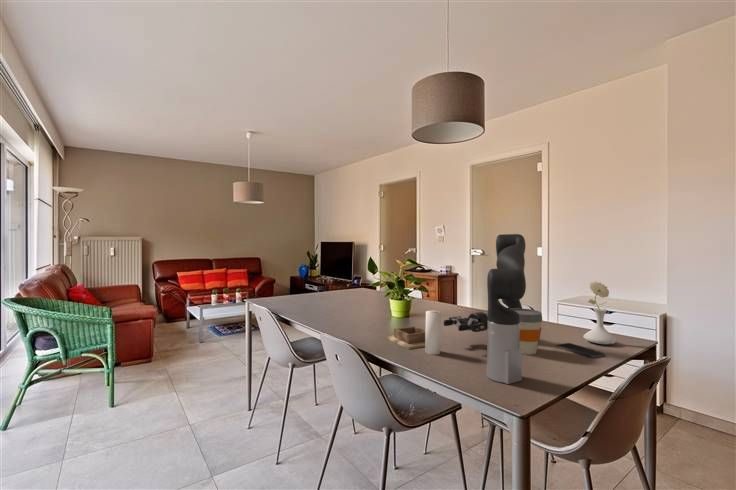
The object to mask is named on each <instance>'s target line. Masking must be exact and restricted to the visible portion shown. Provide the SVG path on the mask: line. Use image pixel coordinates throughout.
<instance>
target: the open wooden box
mask: <svg viewBox="0 0 736 490" xmlns="http://www.w3.org/2000/svg"><path fill="white" fill-rule="evenodd" d="M393 333H394V334H392V335H387V337H386V339H387V340H389V341H391V342H393V343H395V344H397V345H399V346H401V347H403V348H406V349H408V350H412V349H416V348H417V349H418V348H423V347H424V348H425V329H423V328H421V327H418V326H416V325H414V326H407V327H399V328H394V330H393Z"/></svg>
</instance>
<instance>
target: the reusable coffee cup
mask: <svg viewBox="0 0 736 490" xmlns="http://www.w3.org/2000/svg"><path fill="white" fill-rule="evenodd" d="M511 310H513V311H516V312H517V313H519V315H520V336H519V348H520V349H522V355H524V356H525V355H526V356H527V355H529V356H531V355H536V353H537V351H538V343H539V341H540V338H541V333H542V327H541V325H542V322H543V312H541V311H539V310H537V309H531V308H523V307H522V308H513V309H511Z"/></svg>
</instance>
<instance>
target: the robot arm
mask: <svg viewBox="0 0 736 490" xmlns="http://www.w3.org/2000/svg"><path fill="white" fill-rule="evenodd" d="M526 245H527V244H526V240H525V237H524V236H523V235H522V234H519V233H512V234H511V233H509V234H506V233H505V234H504V233H503V234H499V235H497V236H496V239H495V251H496V252H495V253H496V265H495V266H496V268H490V269H489V271H488V273H487V283H486V287H487V311H478V312H472V313H470V314H469V315H468V316H466V317H465V316H464V317H462V316H459V315H458V316H452V317H448V319H444V320H443V327H448V326H456V327H458V331H459V332H463V331H468V332H470V331H471V332H473V333H481V332H486V333H487V334H486V335H487V336H486V341H487V342H486V377H487V378H488V379H490V380H492V381H495V382H497V383H498V382H499V383H504V384H506V385H509V384H513V383H517V382H521V381H522V380H523V378H522V377H523V373H522V372H523V354H522V349H520V348H519V336H520V315H519V313H517V312H516V311H513V310H511V309H513V308H522V309H523V307H522V303H521V300H522V298H523V297H524V296H525V294H526V291H527V290H526V289H527V282H526V275H525V267H526V266H525V264H526V263H525V262H526V261H525V252H526ZM500 300H501V302H500Z"/></svg>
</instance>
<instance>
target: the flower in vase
mask: <svg viewBox="0 0 736 490" xmlns="http://www.w3.org/2000/svg"><path fill="white" fill-rule="evenodd" d="M589 289H590V291H591V292H592V293H593V294H594V299H593V298H590V299H589V300H588V301H587V302H588V303H589V304H592V305H596V307H594V308H593V309H592V310H593V311H594V312H595V315H596V325H595V327H594V328H592V329H591V330H588V331H587V332H586V333H584V334H583V338H584V339H585V340H586V341H588V342H591V343H593V344H599V345H612V344H615V343H617V339H616V337H615V336H614V335H613V334H612V333H611V332H609V331H608V330H607V329H606V328H605V327H604V319H605V315H606V313H607V311H608V309H606V308H602V307H601V308H600V306H602V305H604V304H607V301H605V302H602V303H600V304H598V303H597V296H598V297H599V298H601V299H602V298H608V297H609V295H610V291H609V289H608V286H606V285H605V284H603V283H602V282H601V281H599V282H598V280H594V281H593V282H590V283H589Z"/></svg>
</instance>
